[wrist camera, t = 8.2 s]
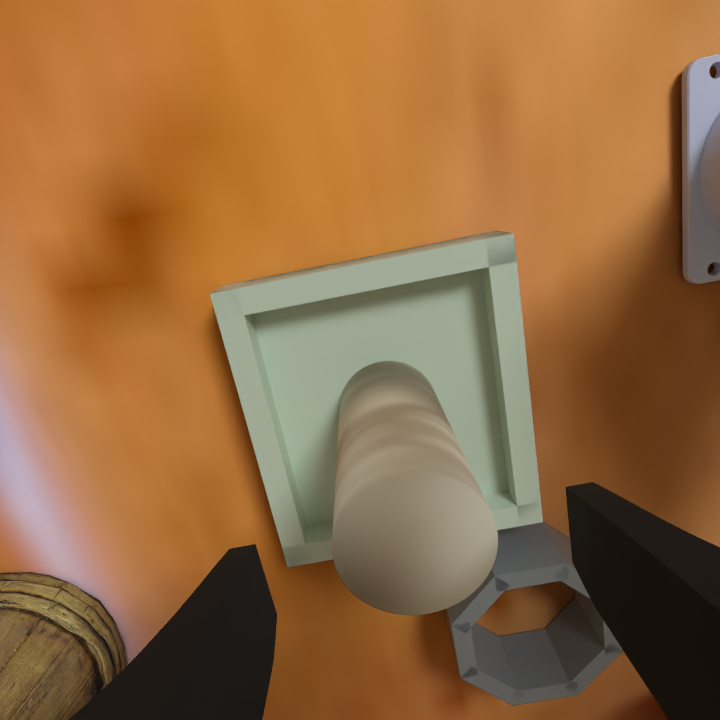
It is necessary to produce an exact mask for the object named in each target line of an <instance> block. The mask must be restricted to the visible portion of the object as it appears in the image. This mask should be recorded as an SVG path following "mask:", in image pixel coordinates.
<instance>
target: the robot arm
mask: <svg viewBox="0 0 720 720" xmlns="http://www.w3.org/2000/svg"><path fill="white" fill-rule="evenodd" d="M712 65H713V66H714V67H715V68H716V71H717V72H716V76H715V77H714V78H712V77H711V76H710V73H709V70H710V67H711V66H712ZM682 227H683V276H684V278H685V280H686V281H688V282H690V283H694V284H702V283H707V282H712V281H718V280H720V54H717V55H712V56H707V57H703V58H700V59H697V60H695V61H693V62H690V63H689V64H688V65H687V66H686V67H685V69H684V71H683V74H682ZM711 263H713V264H714V269H713V271H712V272H711V273H709V274H708V271H707V269H708V266H709V265H710V264H711ZM566 496H567V508H568V519H569V530H570V541H571V553H572V562H573V564H574V567H575V569H576V571H577V573H578V575H579V577H580V579H581V581H582V583H583V585H584V587H585V589H586V591H587V593H588V595H589V597H590V599H591V601H592V603H593V605H594V606H595V608H596V609H597V611H598V612H599V614H600V616H601V617H602V619H603V620H604V622H605V623H606V625H607V626H608V628H609V629H610V631H611V633H612V634H613V636H614V637H615V639H616V640H617V642H618V643H619V645H620V646H621V648H622V649H623V651H624V652H625V654H626V655H627V657H628V658H629V660H630V661H631V663H632V665H633V666H634V668H635V669H636V671H637V672H638V674H639V675H640V677H641V678H642V680H643V681H644V683H645V684H646V686H647V687H648V689H649V690H650V692H651V693H652V695H653V696H654V698H655V699H656V701H657V703H658V704H659V706H660V707H661V709H662V711H663V712H664V714H665V716H666V717H667V719H668V720H720V548H719V547H717V546H715V545H713V544H711V543H709V542H707V541H704V540H702V539H700V538H698V537H696V536H694V535H692V534H690V533H688V532H686V531H684V530H682V529H680V528H678V527H676V526H674V525H672V524H670V523H668V522H666V521H664V520H662V519H661V518H659V517H657V516H655V515H653V514H651V513H649V512H647V511H646V510H644V509H642V508H640V507H638V506H636V505H635V504H633V503H631V502H629V501H627V500H625V499H624V498H622V497H620V496H618V495H616V494H614V493H613V492H611V491H609V490H607V489H605V488H603V487H601V486H599V485H597V484H595V483H593V482H591V483H586V484H580V485H575V486H569V487H566ZM276 622H277V613H276V610H275V607H274V603H273V600H272V597H271V594H270V590H269V587H268V584H267V581H266V577H265V574H264V571H263V568H262V564H261V561H260V558H259V555H258V551H257V548H256V545H255V544H254V545H248V546H243V547H237V548H232V549H229V550H228V551H227V553H226V554H225V555H224V556H223V557H222V558H221V559H220V561H219V562H218V563H217V564H216V566H215V567H214V568H213V569H212V570H211V572H210V573H209V574H208V575H207V576H206V578H205V579H204V580H203V581H202V583H201V584H200V585H199V586H198V587H197V589H196V590H195V591H194V592H193V593H192V595H191V596H190V597H189V598H188V599H187V601H186V602H185V603H184V604H183V605H182V606H181V608H180V609H179V610H178V611H177V612H176V614H175V615H174V616H173V617H172V618H171V619H170V620H169V621H168V623H167V624H166V625H165V626H164V627H163V628H162V629H161V630H160V631H159V632H158V633H157V635H156V636H155V637H154V638H153V639H152V640H151V641H150V642H149V643H148V644H147V646H146V647H145V648H144V649H143V650H142V651H141V652H140V653H139V654H138V655H137V656H136V657H135V658H134V659H133V660H132V661H131V662H130V663H129V664H128V665H127V666H126V667H125V668H124V669H123V670H122V671H121V672H120V673H119V674H118V675H117V676H116V677H115V678H114V679H113V680H112V681H111V682H110V683H109V684H108V685H107V686H106V687H105V688H103V689H102V690H101V691H100V692H99V693H98V694H97V695H96V696H95V697H94V698H93V699H92V700H91V701H89V702H88V703H87V704H86V705H85V706H84V707H83V708H81V709H80V710H79V711H78V712H77V713H75V714H74V715H73V716H72V717H71V718H70V719H68V720H262V718H263V713H264V708H265V703H266V698H267V692H268V687H269V682H270V677H271V672H272V666H273V661H274V650H275V637H276Z"/></svg>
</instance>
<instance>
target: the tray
mask: <svg viewBox="0 0 720 720" xmlns="http://www.w3.org/2000/svg"><path fill="white" fill-rule="evenodd" d="M210 296H211V300H212V303H213V307H214V310H215V314H216V317H217V321H218V324H219V328H220V331H221V335H222V339H223V342H224V346H225V349H226V353H227V356H228V360H229V363H230V367H231V370H232V374H233V377H234V381H235V384H236V388H237V391H238V395H239V398H240V402H241V405H242V409H243V412H244V416H245V419H246V423H247V426H248V430H249V434H250V437H251V441H252V444H253V448H254V451H255V455H256V458H257V462H258V465H259V469H260V472H261V476H262V479H263V483H264V486H265V490H266V493H267V497H268V500H269V504H270V507H271V511H272V514H273V518H274V521H275V525H276V528H277V532H278V536H279V539H280V543H281V546H282V550H283V553H284V557H285V560H286V564H287V567H294V566H299V565H305V564H310V563H316V562H322V561H327V560H333V555H332V533H333V516H334V498H335V480H336V462H337V444H338V426H339V408H340V399H341V395H342V392H343V389H344V387H345V385H346V384H347V382H348V381H349V380H350V378H351V377H352V376H353V375H354V374H355V373H356V372H358V371H359V370H361V369H362V368H364V367H366V366H368V365H370V364H373V363H376V362H381V361H397V362H402V363H406V364H408V365H410V366H412V367H414V368H416V369H417V370H419V371H420V372H421V373H422V374H423V375H424V376H425V377H426V378H427V379H428V380H429V382H430V384H431V385H432V387H433V389H434V391H435V394H436V396H437V398H438V400H439V402H440V404H441V406H442V408H443V411H444V413H445V415H446V417H447V419H448V421H449V423H450V426H451V428H452V430H453V432H454V434H455V436H456V438H457V441H458V443H459V445H460V447H461V449H462V451H463V453H464V455H465V458H466V460H467V462H468V464H469V466H470V468H471V470H472V473H473V475H474V477H475V479H476V481H477V483H478V485H479V487H480V490H481V492H482V494H483V496H484V498H485V500H486V502H487V505H488V507H489V509H490V511H491V513H492V515H493V518H494V521H495V523H496V527H497V530H502V529H507V528H513V527H518V526H524V525H530V524H535V523H541V522H543V516H542V506H541V496H540V486H539V477H538V467H537V457H536V447H535V437H534V427H533V417H532V408H531V398H530V388H529V378H528V368H527V358H526V348H525V338H524V329H523V319H522V309H521V299H520V289H519V279H518V269H517V260H516V250H515V240H514V233H509V232H502V231H495V232H490V233H485V234H480V235H475V236H470V237H465V238H460V239H455V240H450V241H445V242H440V243H435V244H430V245H425V246H420V247H415V248H410V249H405V250H400V251H395V252H390V253H385V254H380V255H375V256H370V257H365V258H360V259H355V260H350V261H345V262H340V263H335V264H329V265H324V266H319V267H314V268H309V269H304V270H299V271H294V272H289V273H284V274H279V275H274V276H269V277H264V278H259V279H254V280H249V281H244V282H239V283H234V284H229V285H224V286H222V287H220V288H219V289H217V290H215V291H214V292H212V293H210Z"/></svg>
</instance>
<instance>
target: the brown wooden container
mask: <svg viewBox="0 0 720 720" xmlns="http://www.w3.org/2000/svg"><path fill="white" fill-rule="evenodd" d="M125 665H126V661H125V656H124V650H123V644H122V641H121V637H120V635H119V632H118V630H117V627H116V625H115V622H114V620H113V618H112V617H111V615H110V614H109V613H108V611H107V610H106V609H105V607H104V606H103V605H102V603H101V602H100V601H99V600H97V599H96V598H94V597H92V596H91V595H89V594H87V593H85V592H84V591H82V590H80V589H79V588H77V587H75V586H74V585H72V584H70V583H68V582H65V581H63V580H60V579H57V578H55V577H52V576H49V575H44V574H38V573H32V572H22V573H1V574H0V720H68V719H70V718H71V717H72V716H73V715H74V714H75V713H77V712H78V711H79V710H80V709H81V708H83V707H84V706H85V705H86V704H87V703H88V702H89V701H91V700H92V699H93V698H94V697H95V696H96V695H97V694H98V693H99V692H100V691H101V690H102V689H103V688H105V687H106V686H107V685H108V684H109V683H110V682H111V681H112V680H113V679H114V678H115V677H116V676H117V675H118V674H119V673H120V672H121V671H122V670H123V669H124V668H125Z"/></svg>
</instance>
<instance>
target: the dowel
mask: <svg viewBox="0 0 720 720" xmlns="http://www.w3.org/2000/svg"><path fill="white" fill-rule="evenodd" d="M497 549H498V532H497V527H496V523H495V521H494V518H493V515H492V513H491V511H490V509H489V507H488V505H487V502H486V500H485V498H484V496H483V494H482V492H481V490H480V487H479V485H478V483H477V481H476V479H475V477H474V475H473V473H472V470H471V468H470V466H469V464H468V462H467V460H466V458H465V455H464V453H463V451H462V449H461V447H460V445H459V443H458V441H457V438H456V436H455V434H454V432H453V430H452V428H451V426H450V423H449V421H448V419H447V417H446V415H445V413H444V411H443V408H442V406H441V404H440V402H439V400H438V398H437V396H436V394H435V391H434V389H433V387H432V385H431V384H430V382H429V380H428V379H427V378H426V377H425V376H424V375H423V374H422V373H421V372H420V371H419V370H417V369H416V368H414V367H412V366H410V365H408V364H406V363H402V362H397V361H381V362H376V363H373V364H370V365H368V366H366V367H364V368H362V369H361V370H359V371H358V372H356V373H355V374H354V375H353V376H352V377H351V378H350V380H349V381H348V382H347V384H346V385H345V387H344V389H343V392H342V395H341V399H340V408H339V426H338V444H337V462H336V480H335V498H334V516H333V533H332V555H333V561H334V565H335V568H336V571H337V573H338V575H339V577H340V579H341V580H342V581H343V583H344V584H345V586H346V587H347V588H348V589H349V590H350V591H351V592H352V593H353V594H354V595H355V596H356V597H357V598H359V599H360V600H362V601H363V602H365V603H366V604H368V605H370V606H372V607H374V608H376V609H379V610H382V611H385V612H389V613H394V614H401V615H422V614H429V613H434V612H438V611H441V610H444V609H447V608H449V607H451V606H453V605H456V604H457V603H459V602H461V601H462V600H464V599H466V598H467V597H468V596H470V595H471V594H472V593H473V592H474V591H475V590H476V589H477V588H478V587H479V586H480V585H481V584H482V583H483V582H484V580H485V579H486V578H487V576H488V574H489V573H490V571H491V569H492V567H493V564H494V562H495V559H496V555H497Z"/></svg>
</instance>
